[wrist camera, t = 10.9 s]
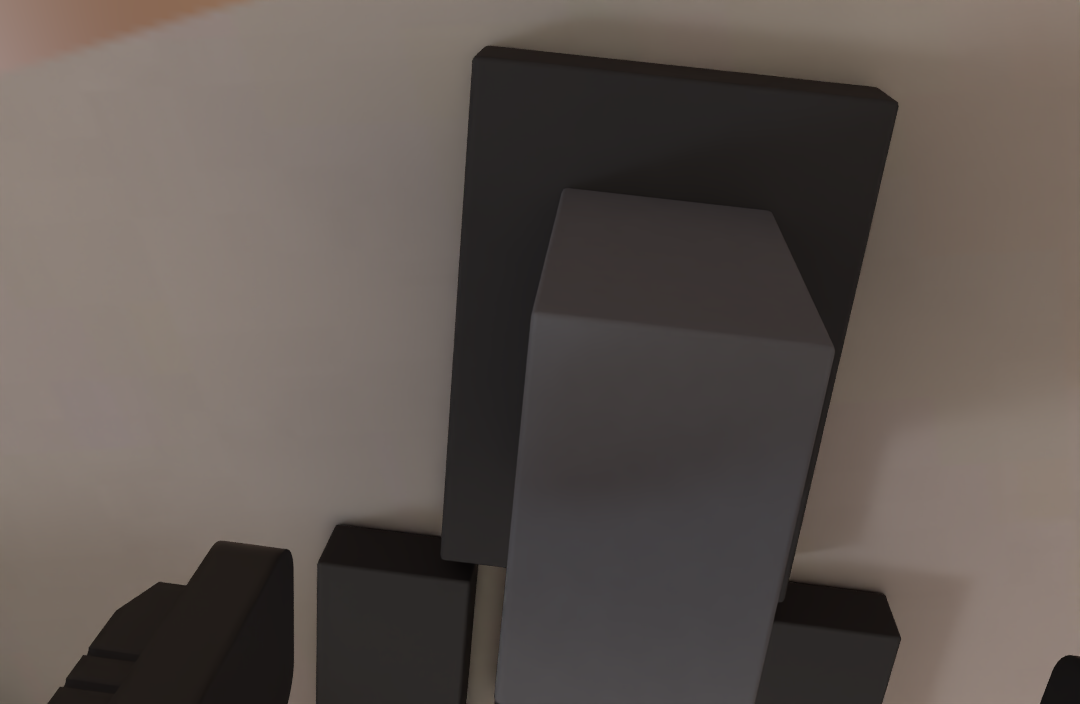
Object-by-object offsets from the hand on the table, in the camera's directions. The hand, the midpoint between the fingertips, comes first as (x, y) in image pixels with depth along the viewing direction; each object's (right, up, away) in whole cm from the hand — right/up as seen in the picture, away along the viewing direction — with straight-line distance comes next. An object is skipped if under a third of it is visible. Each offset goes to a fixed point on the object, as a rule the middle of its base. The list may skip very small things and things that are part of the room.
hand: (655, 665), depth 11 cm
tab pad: (+1, +2, +10) cm, 10 cm away
